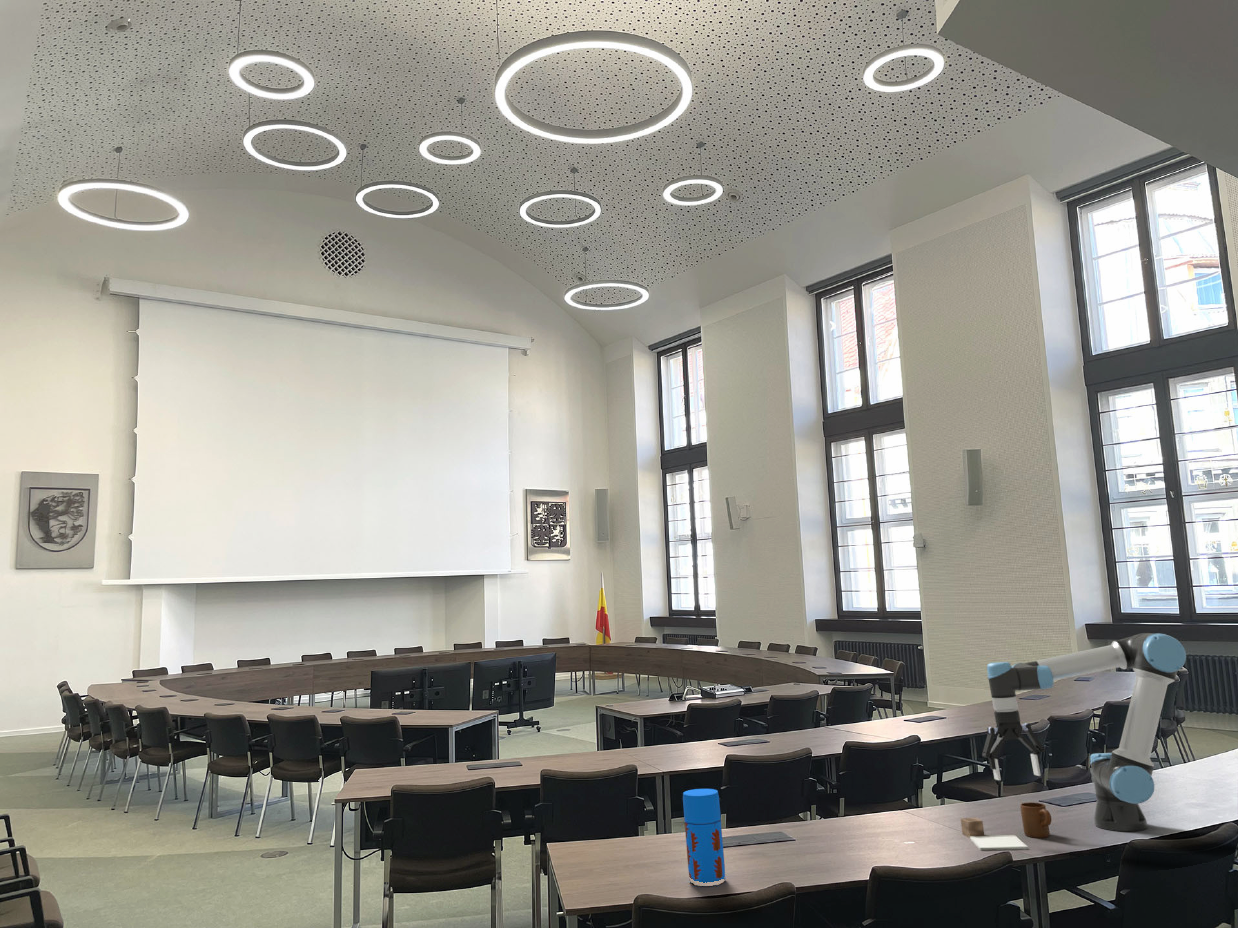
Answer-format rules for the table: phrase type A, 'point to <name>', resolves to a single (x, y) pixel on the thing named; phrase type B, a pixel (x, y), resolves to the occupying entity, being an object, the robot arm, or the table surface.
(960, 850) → the table surface
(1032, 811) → the mug
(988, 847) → the felt mat
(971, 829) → the walnut block
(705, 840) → the thermos
